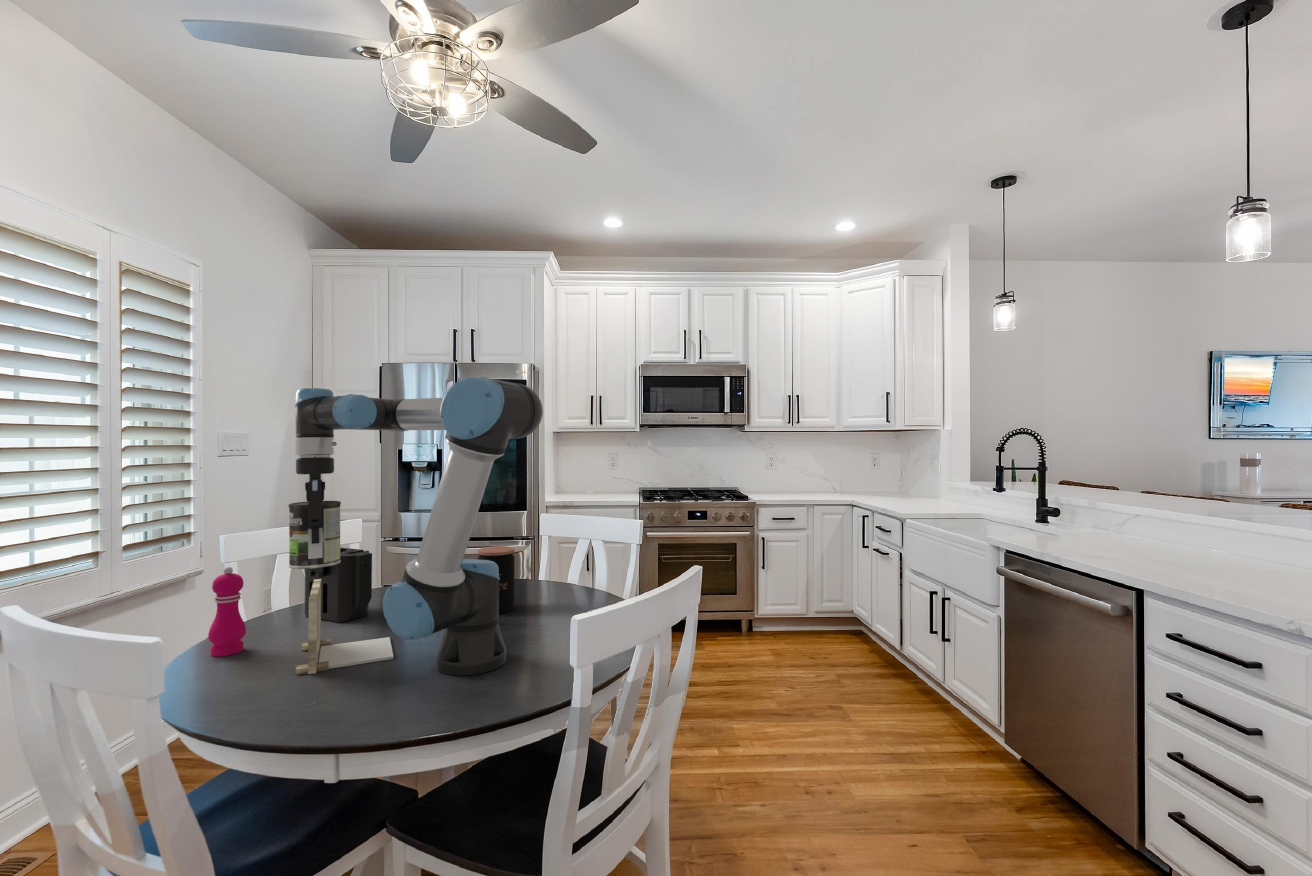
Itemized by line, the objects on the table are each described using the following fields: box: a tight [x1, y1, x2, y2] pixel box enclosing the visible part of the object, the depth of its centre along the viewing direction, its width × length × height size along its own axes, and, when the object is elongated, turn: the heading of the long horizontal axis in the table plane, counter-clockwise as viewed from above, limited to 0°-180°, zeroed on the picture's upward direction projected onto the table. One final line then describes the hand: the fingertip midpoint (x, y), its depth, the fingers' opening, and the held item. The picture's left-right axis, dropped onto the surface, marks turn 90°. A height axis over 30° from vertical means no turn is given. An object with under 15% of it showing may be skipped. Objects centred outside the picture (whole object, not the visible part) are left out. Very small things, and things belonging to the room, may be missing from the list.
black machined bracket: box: [303, 546, 373, 623], centre depth 166 cm, size 12×21×22 cm, turn 67°
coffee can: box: [288, 500, 342, 570], centre depth 133 cm, size 10×10×14 cm
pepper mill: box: [207, 566, 247, 658], centre depth 138 cm, size 7×7×20 cm
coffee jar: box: [477, 545, 516, 614], centre depth 173 cm, size 11×11×18 cm
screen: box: [295, 579, 332, 676], centre depth 134 cm, size 20×6×16 cm, turn 28°
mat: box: [318, 636, 394, 670], centre depth 137 cm, size 15×15×1 cm
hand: (315, 554), depth 133 cm, fingers closed on coffee can, 10 cm apart
